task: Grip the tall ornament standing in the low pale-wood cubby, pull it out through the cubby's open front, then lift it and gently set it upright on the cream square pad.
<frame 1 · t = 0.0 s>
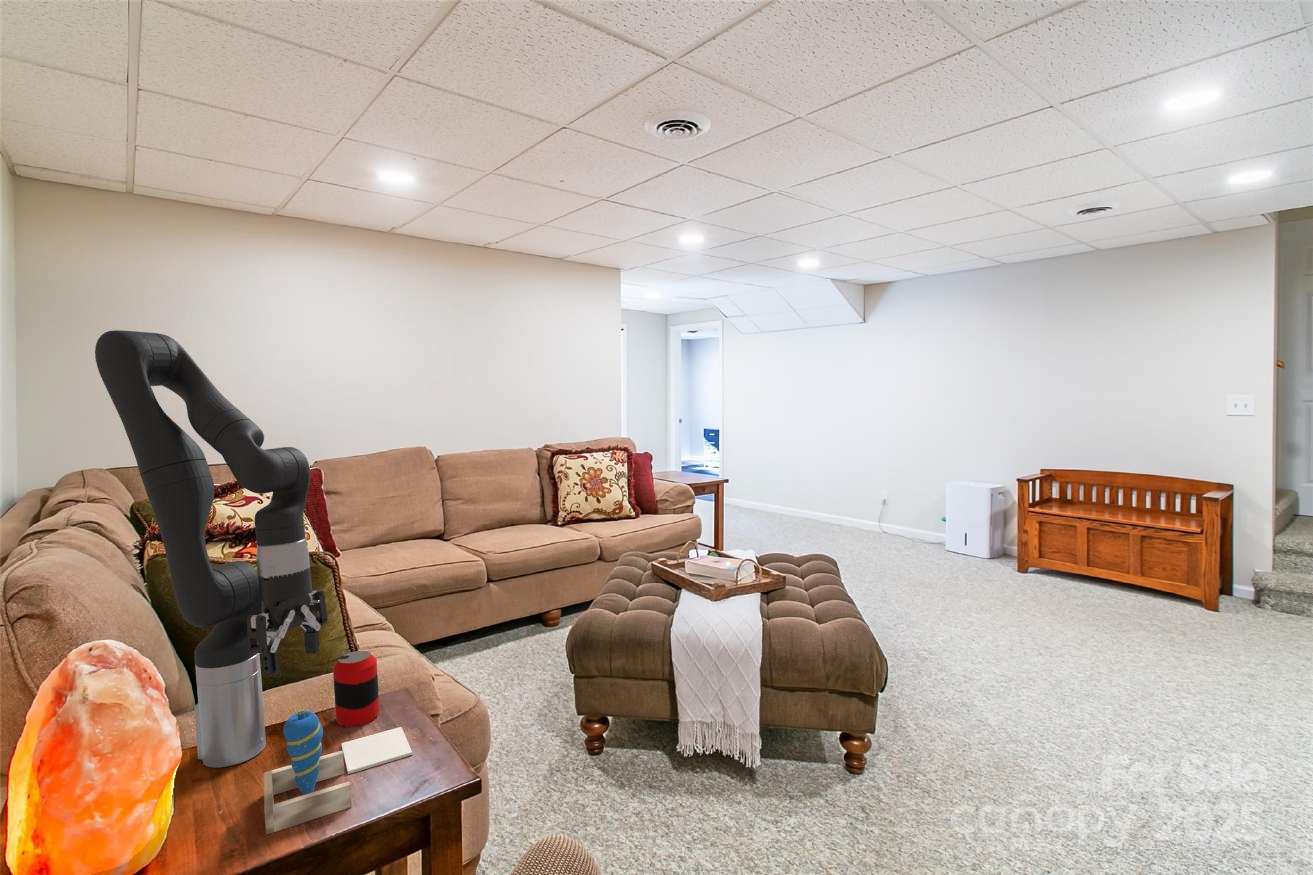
hand: (293, 663, 107), 17 cm above the table, tool pointing down, fingers open, 8 cm apart
cubby: (307, 800, 98), on the table
soda can: (358, 718, 123), on the table
ornament: (307, 801, 98), on the table
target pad: (376, 750, 112), on the table
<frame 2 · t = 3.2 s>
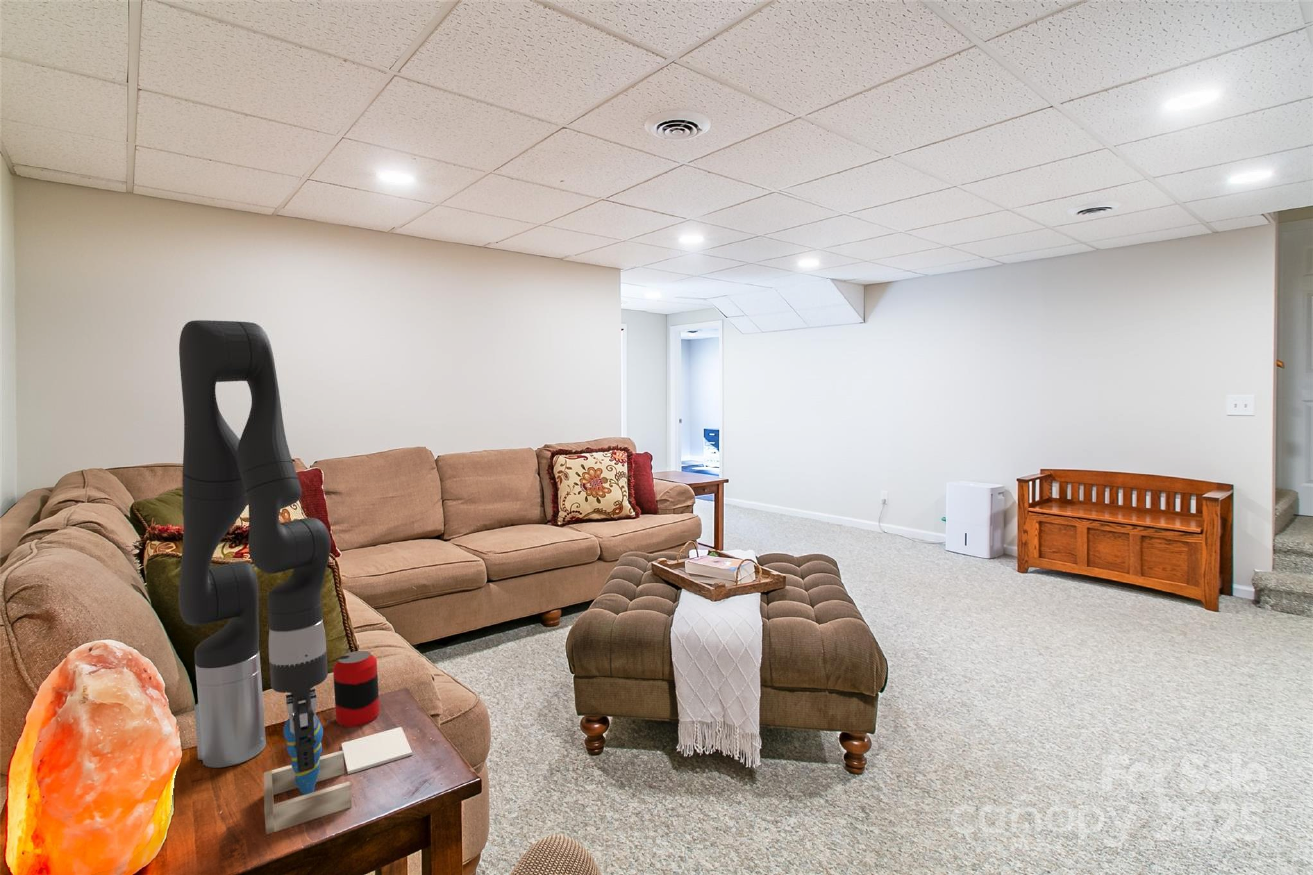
hand: (305, 760, 98), 6 cm above the table, tool pointing down, fingers closed on ornament, 5 cm apart
ornament: (307, 801, 98), on the table, touching gripper
everything else where it was.
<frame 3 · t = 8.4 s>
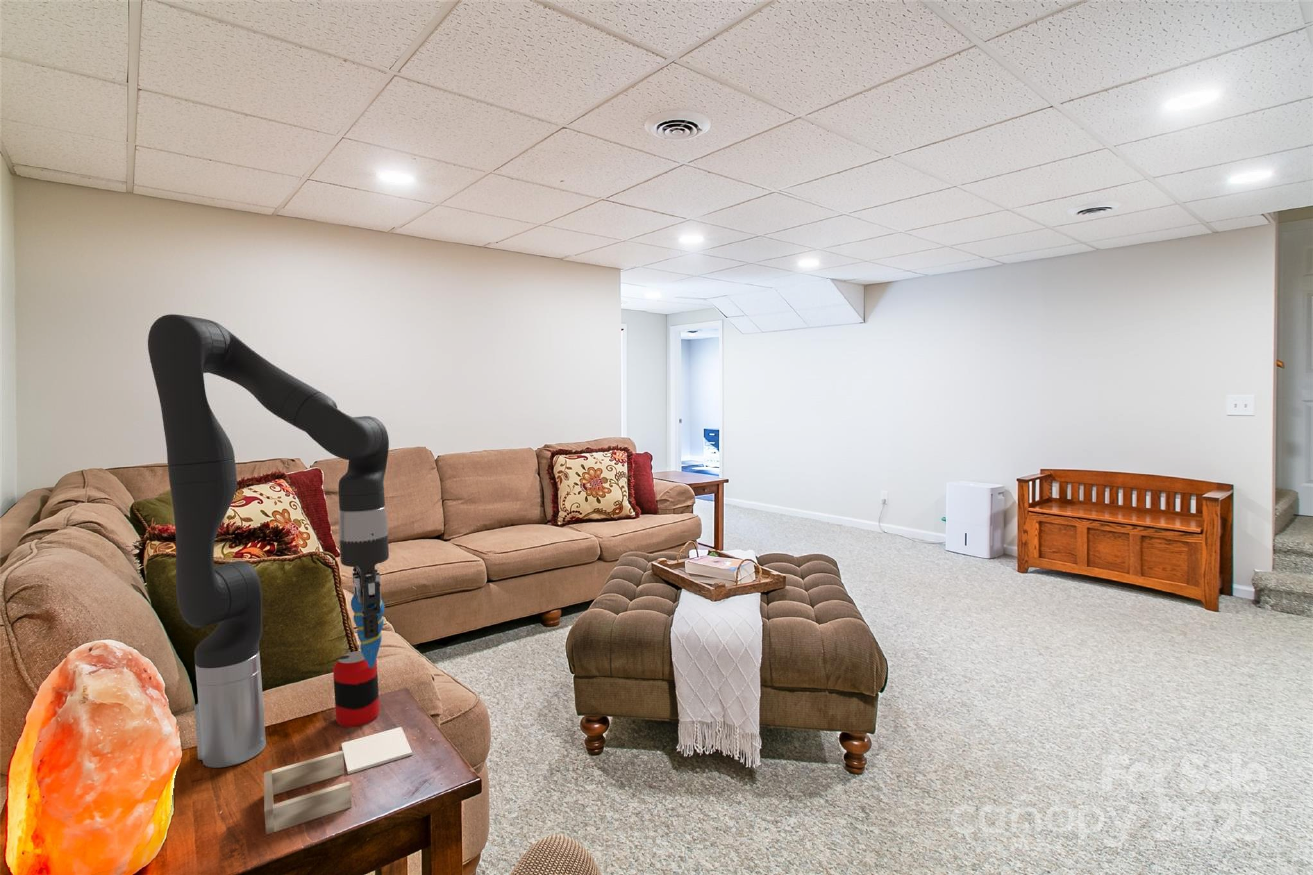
hand: (368, 631, 110), 21 cm above the table, tool pointing down, fingers closed on ornament, 5 cm apart
ornament: (370, 668, 110), point 15 cm above the table, touching gripper
everything else where it was.
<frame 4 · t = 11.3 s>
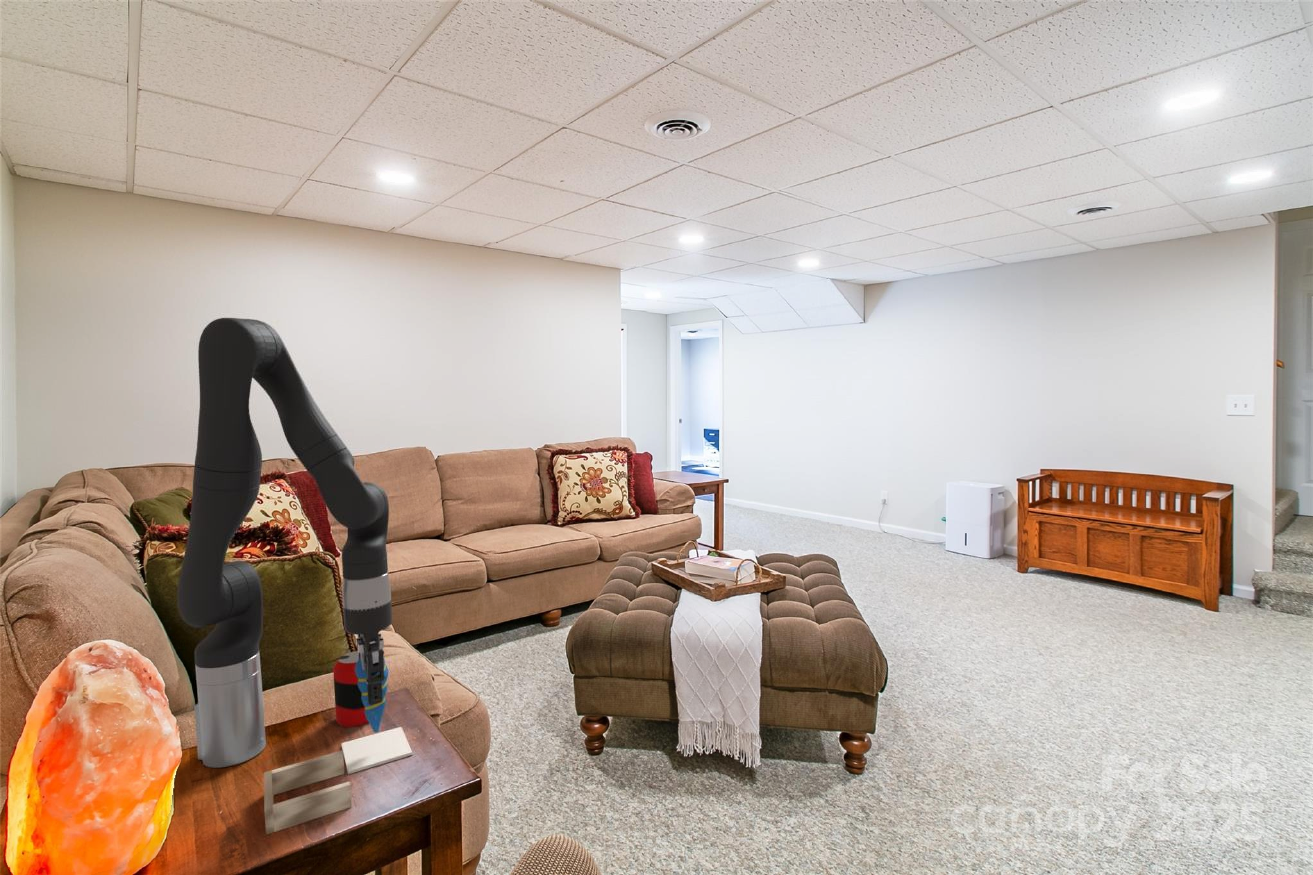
hand: (373, 696, 111), 10 cm above the table, tool pointing down, fingers closed on ornament, 5 cm apart
ornament: (375, 733, 111), point 3 cm above the table, touching gripper
everything else where it was.
when the fingers open (7 cm above the table, at t = 13.5 s): ornament stays where it is, resting on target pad.
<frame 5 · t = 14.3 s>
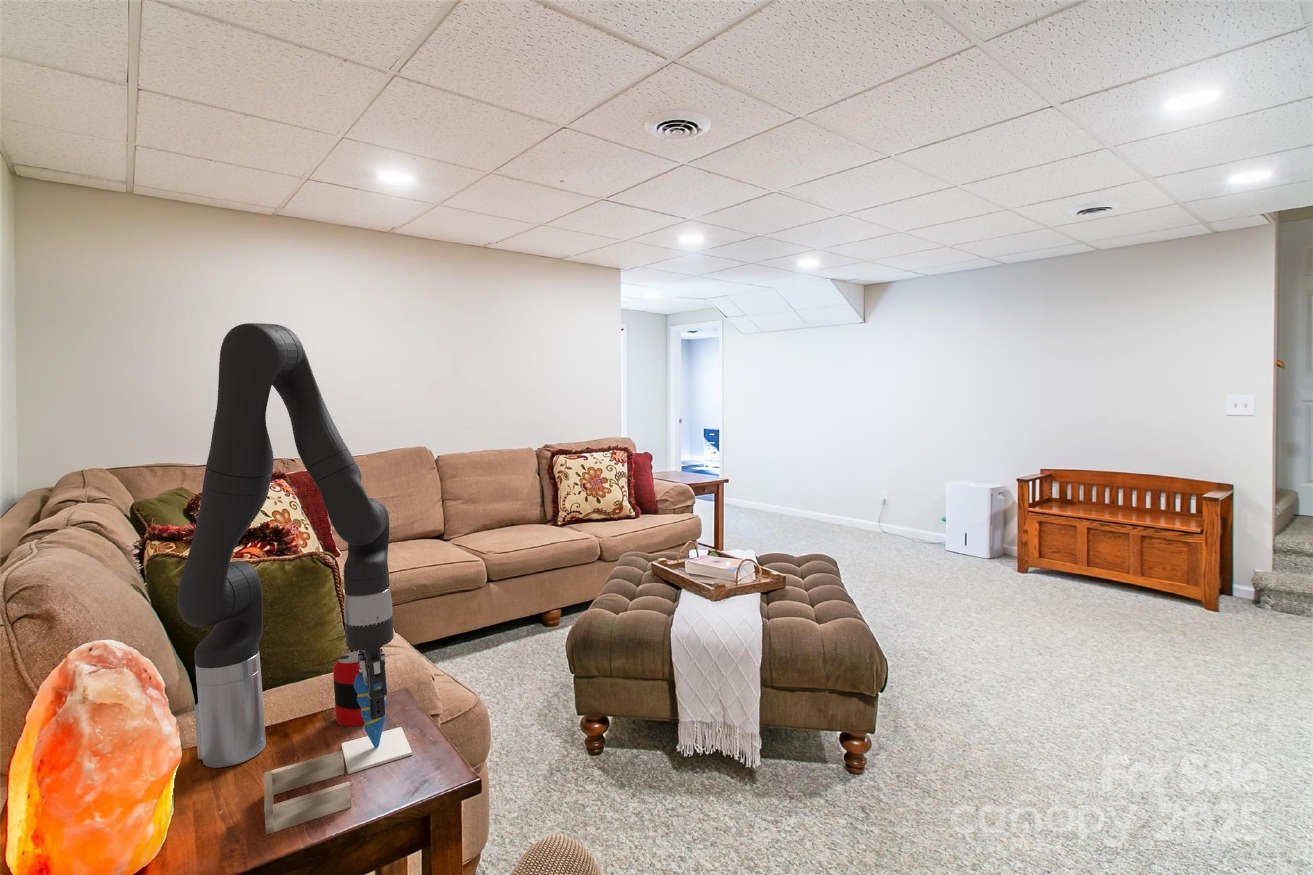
hand: (374, 707, 111), 8 cm above the table, tool pointing down, fingers open, 8 cm apart
ornament: (375, 748, 112), resting on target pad
everything else where it was.
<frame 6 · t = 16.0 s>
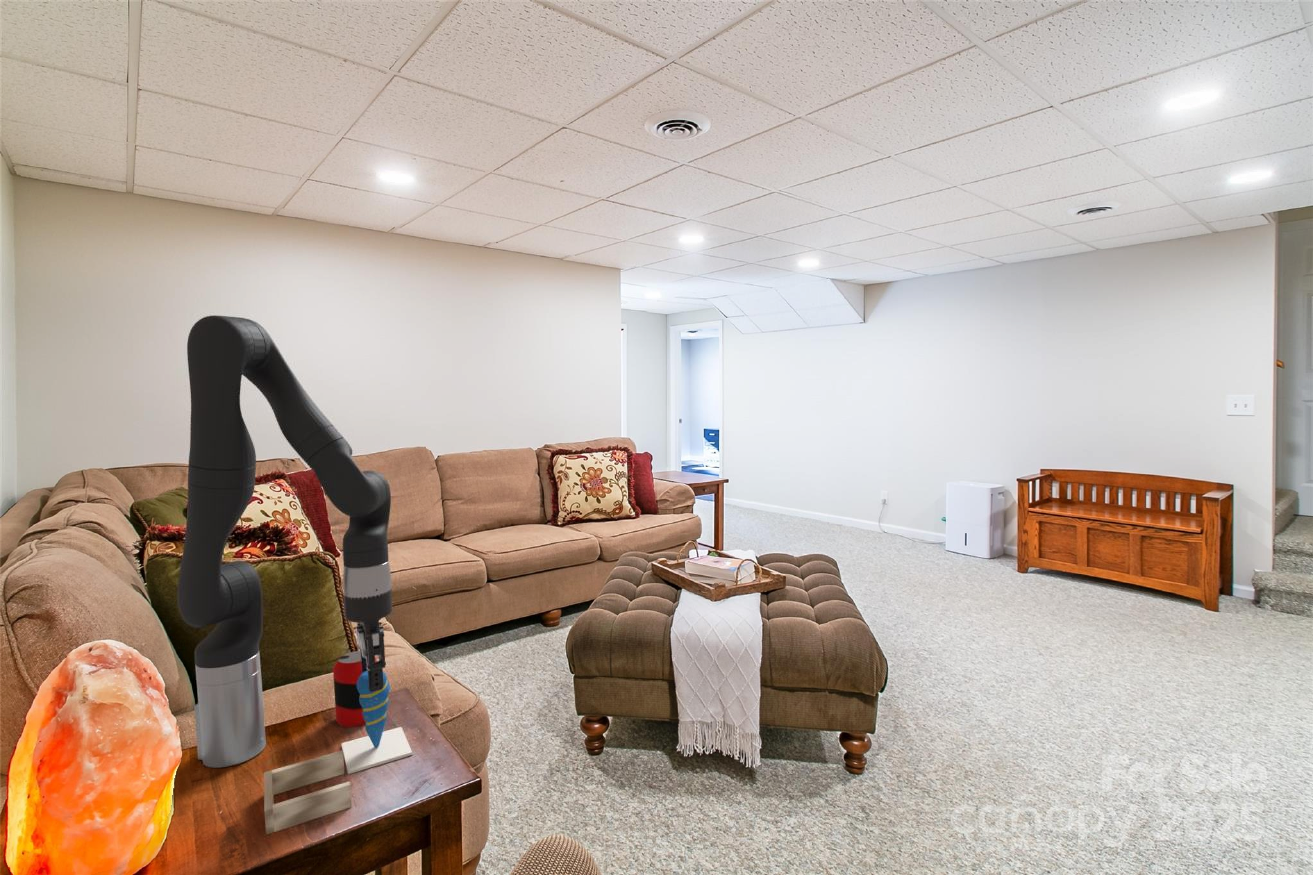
hand: (372, 680, 111), 13 cm above the table, tool pointing down, fingers open, 8 cm apart
nothing on the table moved.
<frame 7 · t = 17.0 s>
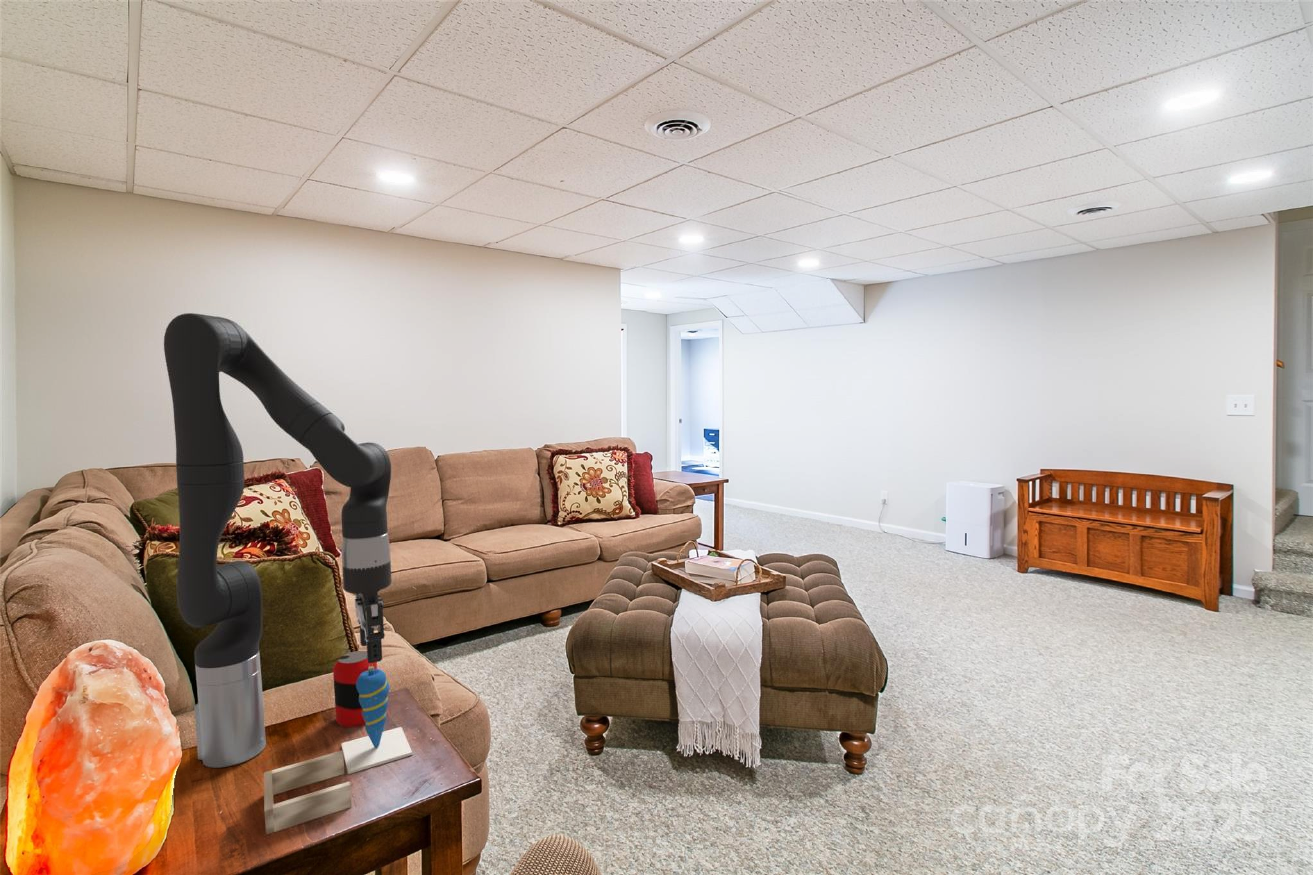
hand: (371, 652, 110), 17 cm above the table, tool pointing down, fingers open, 8 cm apart
nothing on the table moved.
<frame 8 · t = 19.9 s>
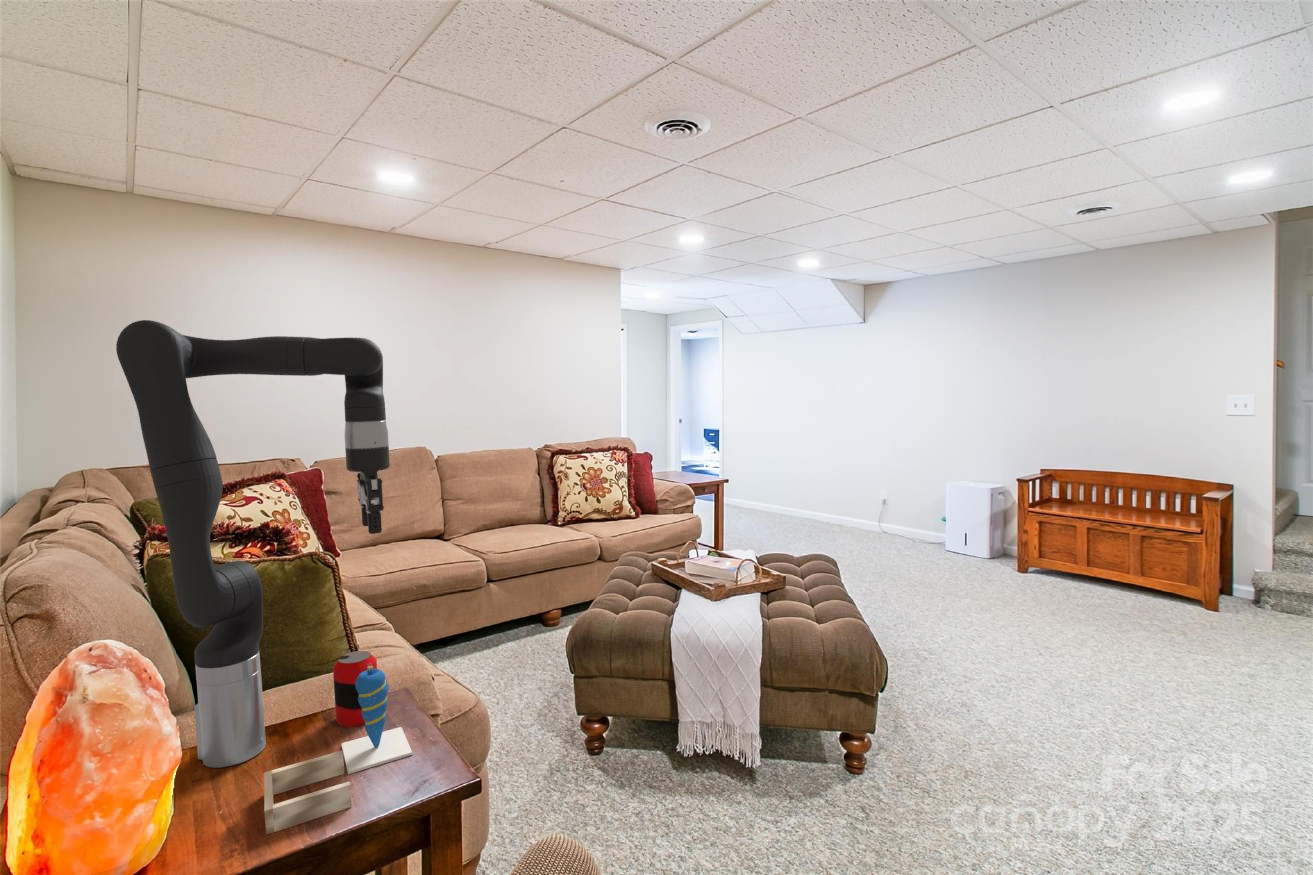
hand: (371, 529, 123), 36 cm above the table, tool pointing down, fingers open, 8 cm apart
nothing on the table moved.
at the end: ornament inside the target area on the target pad (0.2 cm from its centre), point 0.3 cm above the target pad's base; ornament tilted 0°; the gripper is holding nothing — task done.
